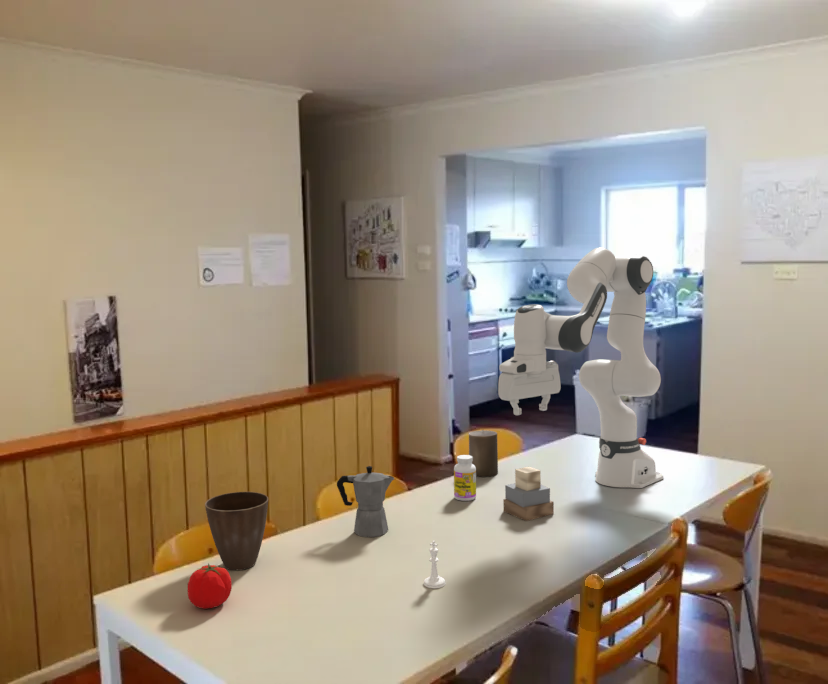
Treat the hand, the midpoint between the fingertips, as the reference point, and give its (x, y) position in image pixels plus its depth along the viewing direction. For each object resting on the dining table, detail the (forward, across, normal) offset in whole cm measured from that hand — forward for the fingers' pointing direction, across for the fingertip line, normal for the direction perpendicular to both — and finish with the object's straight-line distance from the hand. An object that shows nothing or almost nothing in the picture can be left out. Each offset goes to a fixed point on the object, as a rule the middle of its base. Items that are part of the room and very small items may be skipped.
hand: (530, 412), depth 217 cm
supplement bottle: (+29, +7, -22) cm, 37 cm away
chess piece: (+29, +49, +23) cm, 62 cm away
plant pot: (+29, +81, -14) cm, 87 cm away
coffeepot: (+29, +45, -15) cm, 56 cm away
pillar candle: (+29, -14, -40) cm, 51 cm away
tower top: (+26, 0, -1) cm, 26 cm away
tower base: (+30, 0, -1) cm, 30 cm away
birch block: (+22, +1, 0) cm, 22 cm away
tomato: (+29, +94, +3) cm, 99 cm away
